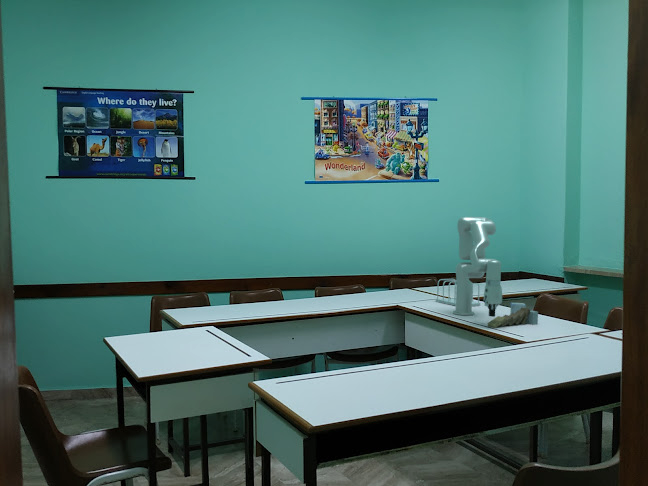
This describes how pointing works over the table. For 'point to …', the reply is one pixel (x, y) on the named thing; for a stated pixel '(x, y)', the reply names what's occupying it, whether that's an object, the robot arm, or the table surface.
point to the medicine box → (516, 307)
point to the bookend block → (532, 317)
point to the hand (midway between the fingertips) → (491, 316)
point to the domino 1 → (496, 322)
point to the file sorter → (453, 300)
